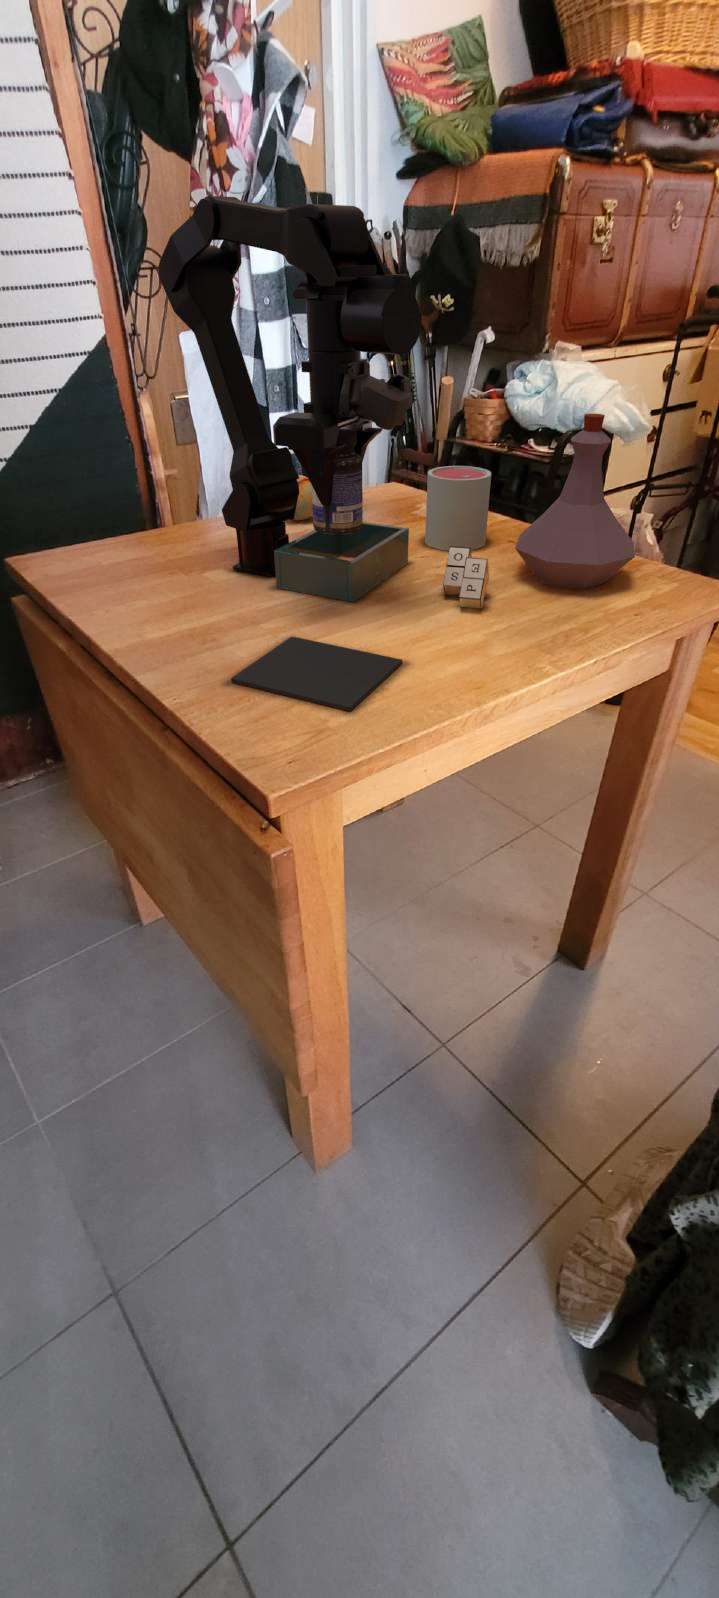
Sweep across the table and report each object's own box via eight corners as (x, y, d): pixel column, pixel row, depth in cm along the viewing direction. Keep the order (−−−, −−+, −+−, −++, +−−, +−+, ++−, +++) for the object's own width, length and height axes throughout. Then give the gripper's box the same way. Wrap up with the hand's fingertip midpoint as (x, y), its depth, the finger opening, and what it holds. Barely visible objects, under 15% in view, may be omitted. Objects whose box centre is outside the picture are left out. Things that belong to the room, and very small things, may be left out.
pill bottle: (368, 525, 96) (369, 429, 90) (353, 538, 91) (353, 437, 85) (322, 521, 98) (320, 426, 92) (305, 533, 93) (302, 434, 87)
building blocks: (482, 617, 98) (492, 559, 99) (481, 599, 93) (491, 538, 94) (441, 613, 99) (451, 556, 100) (437, 595, 94) (448, 535, 95)
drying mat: (231, 682, 79) (230, 678, 79) (291, 640, 88) (291, 636, 88) (350, 711, 74) (350, 707, 74) (402, 663, 83) (402, 659, 82)
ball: (270, 518, 129) (267, 474, 125) (304, 511, 133) (302, 468, 129) (293, 528, 125) (291, 482, 121) (328, 520, 128) (327, 476, 124)
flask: (487, 581, 103) (501, 418, 92) (542, 550, 114) (561, 400, 102) (603, 608, 95) (634, 432, 84) (651, 572, 106) (685, 411, 94)
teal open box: (276, 588, 102) (273, 550, 99) (337, 552, 114) (336, 517, 111) (353, 602, 98) (352, 563, 95) (408, 563, 110) (409, 527, 107)
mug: (488, 550, 114) (495, 479, 108) (426, 550, 114) (429, 480, 109) (478, 524, 125) (483, 459, 120) (421, 524, 125) (424, 459, 120)
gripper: (363, 360, 74) (365, 526, 83) (434, 343, 87) (429, 487, 96) (265, 357, 78) (276, 515, 87) (347, 341, 92) (350, 479, 100)
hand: (338, 498), depth 93 cm, fingers closed on pill bottle, 6 cm apart
